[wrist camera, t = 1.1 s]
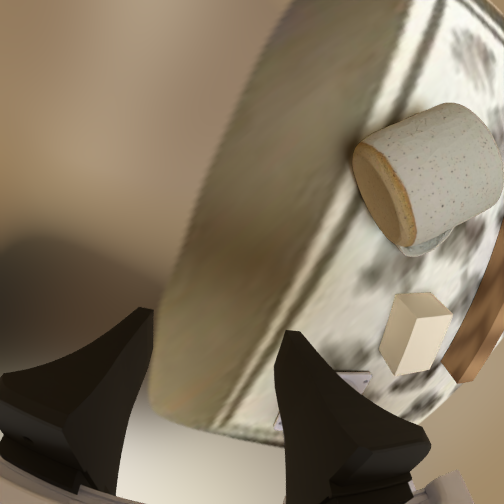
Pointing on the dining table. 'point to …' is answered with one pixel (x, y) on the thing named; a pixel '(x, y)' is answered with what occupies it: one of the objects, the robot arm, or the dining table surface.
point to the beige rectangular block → (414, 332)
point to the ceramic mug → (428, 175)
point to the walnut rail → (480, 322)
